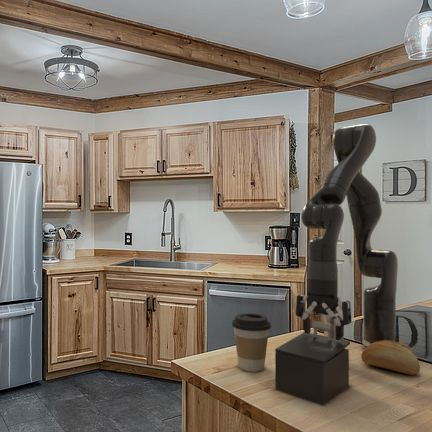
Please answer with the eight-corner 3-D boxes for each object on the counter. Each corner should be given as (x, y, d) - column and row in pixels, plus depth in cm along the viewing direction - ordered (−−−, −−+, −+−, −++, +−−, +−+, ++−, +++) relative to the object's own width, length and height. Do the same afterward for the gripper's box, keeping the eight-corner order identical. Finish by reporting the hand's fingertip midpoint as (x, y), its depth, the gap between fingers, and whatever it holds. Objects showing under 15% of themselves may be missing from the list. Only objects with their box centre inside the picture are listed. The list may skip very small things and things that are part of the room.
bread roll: (365, 359, 134) (365, 333, 134) (422, 370, 124) (422, 342, 124) (358, 367, 126) (358, 340, 126) (417, 380, 117) (417, 351, 117)
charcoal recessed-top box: (303, 373, 123) (303, 339, 123) (348, 386, 114) (348, 349, 113) (275, 389, 112) (275, 352, 112) (323, 405, 103) (323, 364, 103)
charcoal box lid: (304, 334, 123) (303, 316, 123) (350, 344, 114) (349, 324, 114) (275, 351, 112) (274, 332, 111) (323, 364, 103) (322, 342, 102)
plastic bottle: (348, 367, 127) (348, 300, 127) (324, 366, 128) (324, 299, 128) (343, 360, 133) (342, 295, 133) (319, 358, 134) (319, 295, 134)
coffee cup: (278, 366, 128) (277, 316, 128) (259, 377, 120) (259, 324, 120) (244, 357, 136) (243, 310, 136) (224, 367, 127) (224, 317, 127)
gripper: (355, 277, 114) (355, 338, 114) (303, 272, 124) (303, 328, 125) (343, 281, 109) (344, 344, 109) (291, 275, 119) (291, 333, 119)
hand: (322, 336), depth 117 cm, fingers open, 8 cm apart
